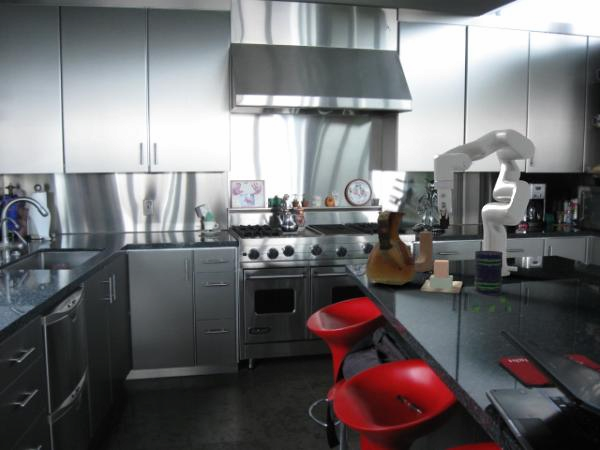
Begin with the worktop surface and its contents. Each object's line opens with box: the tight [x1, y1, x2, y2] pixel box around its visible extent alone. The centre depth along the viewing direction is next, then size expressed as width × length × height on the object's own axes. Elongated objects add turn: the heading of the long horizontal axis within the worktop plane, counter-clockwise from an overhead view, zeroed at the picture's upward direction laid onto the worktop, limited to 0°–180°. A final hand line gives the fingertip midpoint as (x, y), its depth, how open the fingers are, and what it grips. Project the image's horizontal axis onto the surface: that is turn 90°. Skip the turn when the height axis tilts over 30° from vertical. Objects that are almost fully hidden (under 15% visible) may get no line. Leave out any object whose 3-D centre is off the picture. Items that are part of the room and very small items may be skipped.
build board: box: [420, 279, 463, 294], centre depth 211 cm, size 14×18×1 cm
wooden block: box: [414, 230, 434, 273], centre depth 249 cm, size 9×4×18 cm, turn 131°
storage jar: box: [473, 250, 503, 296], centre depth 201 cm, size 10×10×15 cm
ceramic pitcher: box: [365, 210, 416, 286], centre depth 218 cm, size 20×20×30 cm
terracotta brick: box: [433, 259, 450, 278], centre depth 207 cm, size 5×5×6 cm
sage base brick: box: [429, 274, 454, 289], centre depth 208 cm, size 8×6×4 cm
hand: (444, 227), depth 220 cm, fingers open, 9 cm apart
